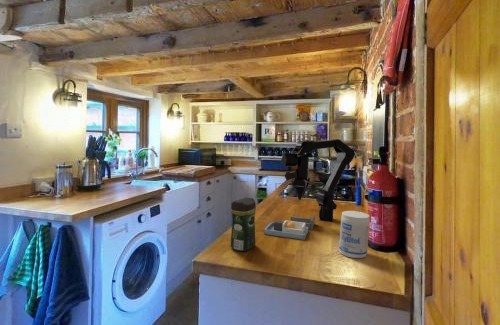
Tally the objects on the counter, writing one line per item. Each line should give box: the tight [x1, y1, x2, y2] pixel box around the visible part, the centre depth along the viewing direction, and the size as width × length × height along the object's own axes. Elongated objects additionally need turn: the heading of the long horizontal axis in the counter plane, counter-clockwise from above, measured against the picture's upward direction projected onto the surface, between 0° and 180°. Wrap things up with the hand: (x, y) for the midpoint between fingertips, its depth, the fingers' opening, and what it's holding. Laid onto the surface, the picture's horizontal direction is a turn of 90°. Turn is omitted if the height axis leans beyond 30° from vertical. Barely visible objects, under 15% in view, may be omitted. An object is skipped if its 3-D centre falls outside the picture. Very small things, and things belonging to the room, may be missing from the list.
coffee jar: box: [230, 196, 257, 252], centre depth 101 cm, size 10×8×19 cm
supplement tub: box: [338, 210, 371, 259], centre depth 98 cm, size 10×10×15 cm
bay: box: [289, 215, 315, 231], centre depth 129 cm, size 12×9×4 cm
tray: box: [263, 222, 309, 241], centre depth 119 cm, size 17×11×2 cm, turn 70°
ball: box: [286, 222, 295, 229], centre depth 118 cm, size 4×4×4 cm
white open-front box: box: [273, 219, 305, 234], centre depth 118 cm, size 13×6×4 cm, turn 71°
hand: (301, 197), depth 134 cm, fingers open, 9 cm apart
